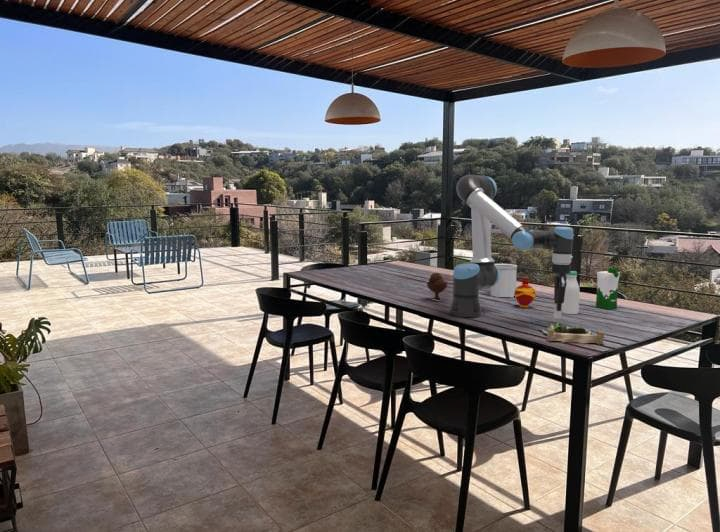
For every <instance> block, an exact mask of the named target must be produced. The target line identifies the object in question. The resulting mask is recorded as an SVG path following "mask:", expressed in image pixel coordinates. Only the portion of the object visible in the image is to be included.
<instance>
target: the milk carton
mask: <svg viewBox="0 0 720 532" xmlns="http://www.w3.org/2000/svg"><path fill="white" fill-rule="evenodd" d="M620 275H621V272H618V268H615V267H609V268H607V271H606V270H604V271H597V272H596V277H597V280H596V281H597V282H596V283H597V284H596V297H595V299H596V300H595V308H599V309H604V310H615V309H617V308H618V292H619V280H620Z"/></svg>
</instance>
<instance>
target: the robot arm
mask: <svg viewBox="0 0 720 532" xmlns="http://www.w3.org/2000/svg"><path fill="white" fill-rule="evenodd" d="M497 188H498V187H497V183H496V182H495V180H494V179H493V178H491V177H490V176H486V175H477V174H476V175H475V174H466V175H464V176H462V177H461V178H459V180H458V181H457V183H456V191H455V192H456V193H457V196H458V198H459V199H461V200H462V202H464V203H465V205H467V206H469V208H471V210H470V211H471V212H470V213H471V240H472V241H471V242H472V259H471V260H470V261H469V262H467V263H460V264H457V265H455V266H454V268H453V272H452V273H453V274H452V277H453V278H452V279H453V282H452V283H453V284H452V299H451V302H450V305H449V307H448V314H449V315H450V316H452V315H454V316H453V317H456V316H458V318H464V317H473V318H479V316H480V317H481V316H482V313H483V309H482V307H481V303H480V299H479V291H480V290H488V289H490V287H493V286H494V285H496V283H497V282H498V280H499V276H500V274H499V270H498V268H497V267H496V266H495V264H496V262H495V261H496V260H495V259H494V258H493V257H492V242H491V241H492V239H491V237H492V235H491V224H492V225H494V226H495V227H496V228H497V229H498V230H499V231H500V232H502V233H503V234H504V235H505V236H506V237H508V238H509V239H510V240H511V243H512V245H513V247H514V248H515V249H517V250H521V251H524V250H531V249H538V248H539V249H552V254H551V255H552V256H551V257H552V258H551V259H552V260H551V263H552V264H551V272H552V273H553V274H556V275H555V276H554V282H553V283H554V289H553V290H554V291H553V300H554V302H553V303H554V310H553V311H554V312H553V313H554V314H553V317H554V319H562V315H563V313H562V304H563V303H564V297H565V289H566V284H567V282H566V279H567V277H566V275H567V274H568V273H570V272H571V271H572V270H571V269H572V265H571V263H572V259H573V257H574V256H572V255H573V252H572V251H573V245H574V244H573V243H574V229H573V228H572V227H569V226H555V227H554V229H553V230H541V229H540V230H539V229H530V230H529V229H528V228H526V227H525V226H524V225H523V224H522V223H521V222H519V221H518V220H517V219H516V218H515V217H514V216H512V215H511V214H510V213H508V211H506V210H505V209H504V208H503V207H502V206H500V205H499V204H498V203H496V202H495V200H494V198H495V196H496V194H497V192H498V191H497V190H498V189H497Z"/></svg>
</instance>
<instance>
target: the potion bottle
mask: <svg viewBox="0 0 720 532" xmlns="http://www.w3.org/2000/svg"><path fill="white" fill-rule="evenodd" d="M520 278H521V280H520V282H522V284H520V285H517V286H516V289H515V293H514V294H515V295H514V296H515V297H514V298H515V300H516V301H517V303H518V304H519V305H518V307H519V306H520V307H519V308H522V307H523V308H524V309H529V308H530V305H531V303H532V302H533V301H534V300H535V299H536V297H537V294H536V292H537V290H536V289H535V287H533V286H531V285H529V283H530V282H531V280H530V277H529V276H521V277H520ZM523 308H522V309H523Z"/></svg>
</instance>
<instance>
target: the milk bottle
mask: <svg viewBox="0 0 720 532" xmlns="http://www.w3.org/2000/svg"><path fill="white" fill-rule="evenodd" d="M565 277H566V282H567V284H566V289H565V297H564V303H563V304H562V314H566V315H578V314H579V310H580V307H579V306H580V286H579V283H578V280H577V277H578V272H577V271H576V270H571V272H570V273H568V274H565Z"/></svg>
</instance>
